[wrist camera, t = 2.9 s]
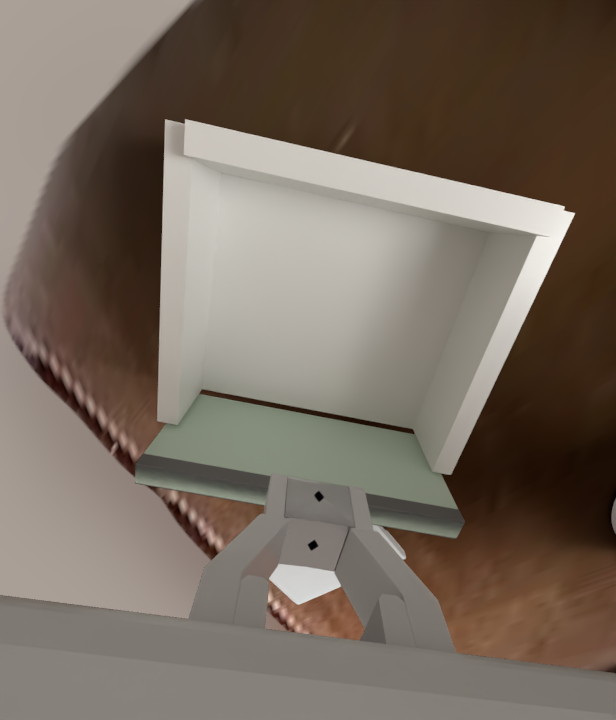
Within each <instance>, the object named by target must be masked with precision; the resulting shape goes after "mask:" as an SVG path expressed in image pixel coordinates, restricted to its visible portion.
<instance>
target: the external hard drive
mask: <svg viewBox="0 0 616 720" xmlns="http://www.w3.org/2000/svg"><path fill="white" fill-rule="evenodd" d="M372 526H373V531H377V532H379V533H380V534H381V536H382V537H383V538H384V539H385V540H386V541H387V542H388V544H389V545H390V546H391V547H392V548H393V549H394V550H395V552H396V553H397V554H398V555H399V556H400V557H401V558H402V560H403V559H406V555H405V552H404V550H403V549H402V548H401V546H400V545H399V544H398V543H397V542H396V540H395V539H394V538H393V537H392V536H391V535H390V533H389V532H388V531H387V530H385V529H384V528H383V527H382V526H378V525H372ZM334 573H335V572H333V571H327V570H321V569H316V568H310V567H303V566H294V565H285V564H278V566H277V568H276V569H275V571H274V572H273V573H272V575H271V576H270V578H269V580H270V581H272V582H273V583H274V584H275V585H276V586H277V587H278V588H279V589H280V590H281V591H282V592H284V593H285V594H286V595H287V596H288V597H289V598H290V599H291V600H292V601H293V602H294V603H296V604H298V605H299V604H302V603H304V602H306V601H309V600H311V599H313V598H316V597H318V596H320V595H322V594H325V593H327V592H329V591H332V590H334V589H336V588H339V587H341V584H340V583H339V581H338V579H337V577H336V575H335V574H334Z"/></svg>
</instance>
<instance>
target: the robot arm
mask: <svg viewBox="0 0 616 720" xmlns="http://www.w3.org/2000/svg"><path fill="white" fill-rule="evenodd" d="M611 520H612V526H613V529H614V532H615V534H616V499H615V501H614V504H613V508H612V515H611ZM278 564H285V565H294V566H303V567H310V568H316V569H321V570H327V571H333V572H335V573H334V574H335V575H336V577H337V579H338V581H339V583H340V584H341V586H342V588H343V590H344V592H345V593H346V595H347V597H348V599H349V601H350V603H351V604H352V606H353V608H354V610H355V612H356V613H357V615H358V617H359V619H360V621H361V623H362V624H363V626H364V628H365V630H364V632H363V634H362V636H361V639H360V641H358V640H350V639H342V638H334V637H326V636H319V635H311V634H303V633H295V632H287V631H279V630H272V629H265V621H266V611H267V601H268V591H269V582H268V581H267V580H268V579H269V578H270V576H271V575H272V573H273V572H274V571H275V569H276V568H277V566H278ZM0 720H616V673H612V672H604V671H596V670H588V669H580V668H572V667H564V666H556V665H549V664H541V663H533V662H525V661H517V660H509V659H501V658H493V657H486V656H478V655H470V654H462V653H456V651H455V648H454V645H453V642H452V640H451V637H450V634H449V631H448V628H447V625H446V622H445V619H444V616H443V613H442V610H441V607H440V604H439V602H438V600H437V599H436V597H435V596H434V595H433V594H432V593H431V592H430V591H429V589H428V588H427V587H426V586H425V585H424V584H423V583H422V581H421V580H420V579H419V578H418V577H417V576H416V574H415V573H414V572H413V571H412V570H411V569H410V568H409V566H408V565H407V564H406V563H405V562H404V561H403V560H402V558H401V557H400V556H399V555H398V554H397V553H396V552H395V550H394V549H393V548H392V547H391V546H390V545H389V544H388V542H387V541H386V540H385V539H384V538H383V537H382V536H381V534H380V533H379V532H377V531H373V526H372V522H371V517H370V513H369V508H368V503H367V499H366V494H365V490H364V489H363V488H361V487H354V486H345V485H339V484H332V483H326V482H319V481H313V480H308V479H303V478H297V477H292V476H285V475H280V474H274V473H272V474H271V477H270V482H269V486H268V491H267V496H266V501H265V506H264V511H263V514H260V515H258V516H257V517H256V518H255V519H254V520H253V521H252V522H251V523H250V524H249V525H248V526H247V527H246V528H245V529H244V530H243V531H242V532H241V533H240V534H239V535H238V536H237V537H235V538H234V539H233V540H232V541H231V542H230V543H229V544H228V545H227V546H226V547H225V548H224V549H223V550H222V551H221V552H220V553H219V554H218V555H217V556H216V557H215V558H214V559H212V560H211V561H210V562H209V563H208V564H207V565H206V566H205V567H204V570H203V573H202V577H201V580H200V584H199V586H198V590H197V593H196V596H195V599H194V603H193V606H192V609H191V612H190V615H189V619H185V618H177V617H169V616H161V615H153V614H145V613H138V612H129V611H121V610H113V609H106V608H98V607H90V606H82V605H74V604H66V603H58V602H51V601H43V600H35V599H27V598H19V597H11V596H3V595H0Z"/></svg>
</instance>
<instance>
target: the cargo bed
mask: <svg viewBox="0 0 616 720" xmlns="http://www.w3.org/2000/svg"><path fill="white" fill-rule="evenodd" d="M564 208H565V206H560V205H556V204H552V203H547V202H543V201H539V200H534V199H530V198H525V197H521V196H517V195H512V194H508V193H504V192H499V191H495V190H491V189H486V188H482V187H478V186H473V185H469V184H465V183H460V182H456V181H452V180H447V179H443V178H439V177H434V176H430V175H425V174H421V173H417V172H412V171H408V170H404V169H399V168H395V167H391V166H386V165H382V164H378V163H373V162H369V161H365V160H360V159H356V158H352V157H347V156H343V155H339V154H334V153H330V152H326V151H321V150H317V149H312V148H308V147H304V146H299V145H295V144H291V143H286V142H282V141H278V140H273V139H269V138H265V137H260V136H256V135H252V134H247V133H243V132H239V131H234V130H230V129H226V128H221V127H217V126H212V125H208V124H204V123H199V122H195V121H191V120H186V119H185V124H183V123H179V122H174V121H170V120H166V119H165V143H164V180H163V218H162V256H161V293H160V331H159V369H158V406H157V421H159V422H164V423H169V424H175V425H178V424H179V422H180V421H181V419H182V418H183V416H184V415H185V413H186V412H187V411H188V409H189V408H190V406H191V405H192V403H193V402H194V400H195V399H196V397H197V396H198V395H199V393H200V392H201V390H202V389H204V390H209V391H215V392H220V393H225V394H230V395H236V396H241V397H246V398H252V399H257V400H262V401H267V402H273V403H278V404H283V405H289V406H294V407H299V408H304V409H310V410H315V411H320V412H325V413H331V414H336V415H341V416H347V417H352V418H357V419H362V420H368V421H373V422H378V423H383V424H389V425H394V426H399V427H405V428H410V429H413V430H414V433H415V435H416V437H417V439H418V441H419V444H420V446H421V448H422V450H423V452H424V455H425V457H426V459H427V461H428V463H429V466H430V468H431V470H432V472H437V473H442V474H448V475H451V474H452V472H453V470H454V468H455V466H456V463H457V461H458V459H459V457H460V455H461V453H462V451H463V449H464V447H465V445H466V442H467V440H468V438H469V436H470V434H471V432H472V430H473V428H474V426H475V423H476V421H477V419H478V417H479V415H480V413H481V411H482V409H483V407H484V404H485V402H486V400H487V398H488V396H489V394H490V392H491V390H492V388H493V385H494V383H495V381H496V379H497V377H498V375H499V373H500V371H501V369H502V366H503V364H504V362H505V360H506V358H507V356H508V354H509V352H510V350H511V347H512V345H513V343H514V341H515V339H516V337H517V335H518V333H519V331H520V328H521V326H522V324H523V322H524V320H525V318H526V316H527V314H528V312H529V309H530V307H531V305H532V303H533V301H534V299H535V297H536V295H537V293H538V290H539V288H540V286H541V284H542V282H543V280H544V278H545V276H546V274H547V271H548V269H549V267H550V265H551V263H552V261H553V259H554V257H555V255H556V252H557V250H558V248H559V246H560V244H561V242H562V240H563V238H564V236H565V233H566V231H567V229H568V227H569V225H570V223H571V221H572V219H573V217H574V214H575V213H571V212H567V211H563V210H564Z"/></svg>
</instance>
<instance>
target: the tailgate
mask: <svg viewBox="0 0 616 720" xmlns="http://www.w3.org/2000/svg"><path fill="white" fill-rule="evenodd" d="M272 473H274V474H280V475H285V476H292V477H297V478H303V479H308V480H313V481H319V482H326V483H332V484H339V485H345V486H354V487H361V488H363V489H364V490H365V494H366V499H367V503H368V508H369V513H370V517H371V522H372V525H378V526H383V527H389V528H395V529H401V530H406V531H412V532H418V533H424V534H429V535H435V536H441V537H447V538H453V539H456V538H457V536H458V534H459V532H460V531H461V529H462V527H463V525H464V523H465V521H464V519H463V517H462V515H461V512H460V510H458V508H457V506H456V504H455V501H454V499H453V497H452V495H451V493H450V491H449V489H448V487H447V485H446V483H445V481H444V479H443V477H442V475H441V473H437V472H432V470H431V468H430V466H429V463H428V461H427V459H426V457H425V455H424V452H423V450H422V448H421V446H420V444H419V441H418V439H417V437H416V435H415V434H410V433H404V432H399V431H394V430H388V429H383V428H378V427H373V426H367V425H362V424H357V423H351V422H346V421H341V420H335V419H330V418H325V417H320V416H314V415H309V414H304V413H298V412H293V411H288V410H282V409H277V408H272V407H267V406H261V405H256V404H251V403H245V402H240V401H235V400H229V399H224V398H219V397H214V396H208V395H203V394H199V395H198V396H197V397H196V399H195V400H194V402H193V403H192V405H191V406H190V408H189V409H188V411H187V412H186V413H185V415H184V416H183V418H182V419H181V421H180V422H179V424H178V425H175V424H169V423H166V424H165V426H164V427H163V428H162V430H161V431H160V432H159V434H158V435H157V436H156V438H155V439H154V440H153V442H152V443H151V444H150V446H149V447H148V448H147V450H146V451H145V452H144V453H143V454H142V456H141V457H140V458H139V460H138V461H137V462H136V464H135V480H136V481H135V483H136V484H141V485H147V486H153V487H158V488H164V489H170V490H176V491H181V492H187V493H193V494H199V495H204V496H210V497H216V498H222V499H228V500H233V501H239V502H245V503H251V504H256V505H262V506H265V501H266V496H267V491H268V486H269V482H270V477H271V474H272Z"/></svg>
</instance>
